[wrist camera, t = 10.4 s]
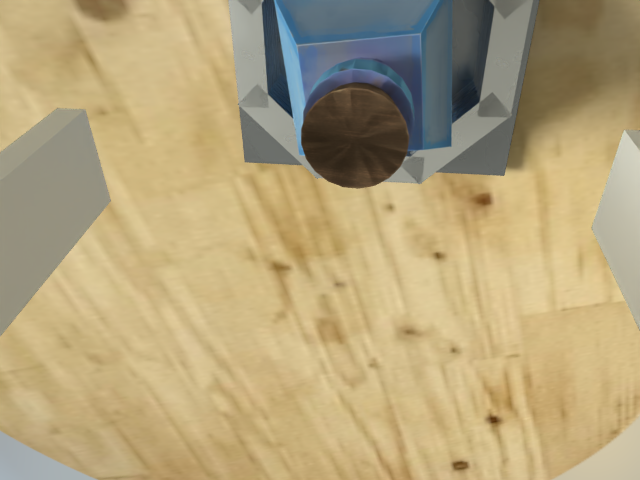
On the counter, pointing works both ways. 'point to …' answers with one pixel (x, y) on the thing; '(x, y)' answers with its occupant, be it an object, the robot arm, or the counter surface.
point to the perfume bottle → (367, 83)
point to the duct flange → (467, 88)
